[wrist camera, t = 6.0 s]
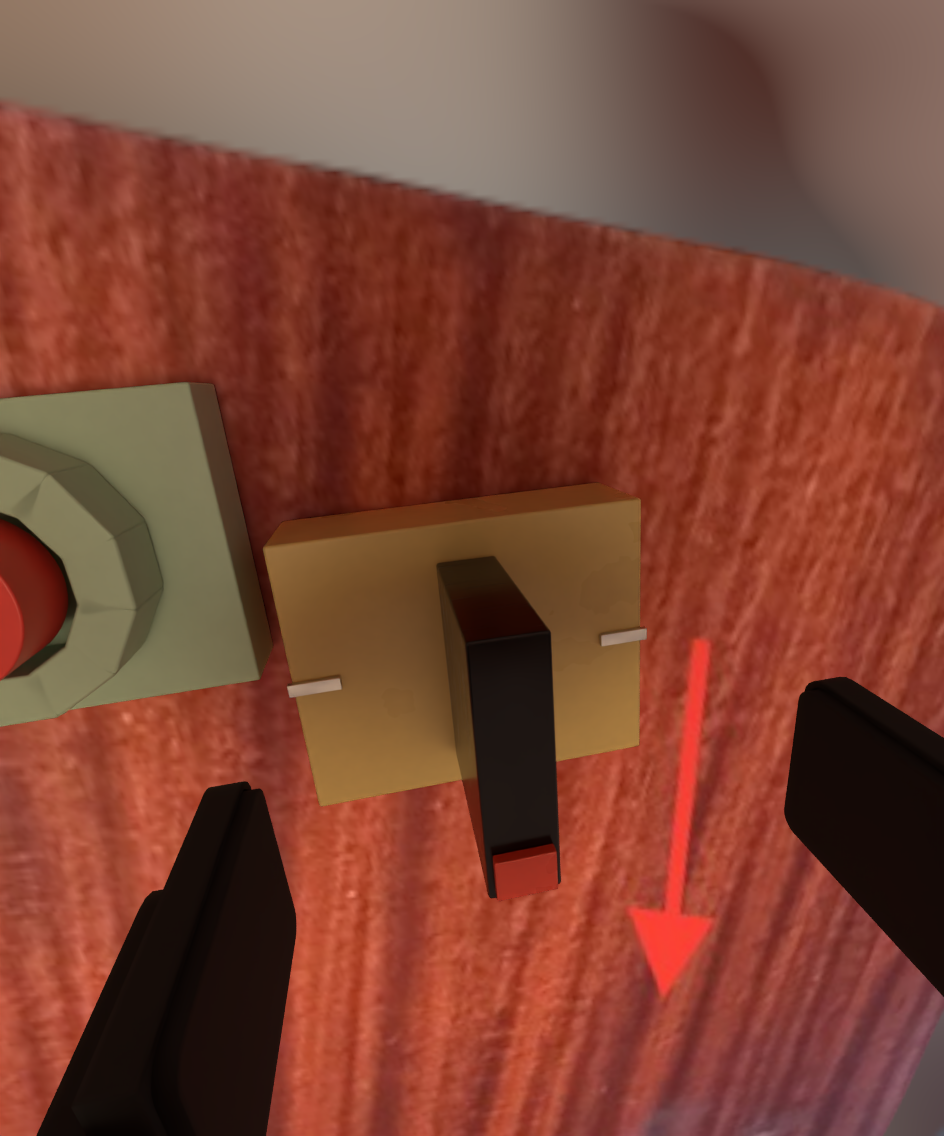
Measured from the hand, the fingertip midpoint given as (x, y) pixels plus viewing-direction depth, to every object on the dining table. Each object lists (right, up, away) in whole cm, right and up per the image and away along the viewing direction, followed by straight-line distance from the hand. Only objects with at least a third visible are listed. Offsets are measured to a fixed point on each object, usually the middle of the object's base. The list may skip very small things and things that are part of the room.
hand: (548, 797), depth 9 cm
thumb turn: (-1, +1, +6) cm, 6 cm away
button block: (-13, +4, +6) cm, 15 cm away
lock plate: (-2, +2, +9) cm, 9 cm away
